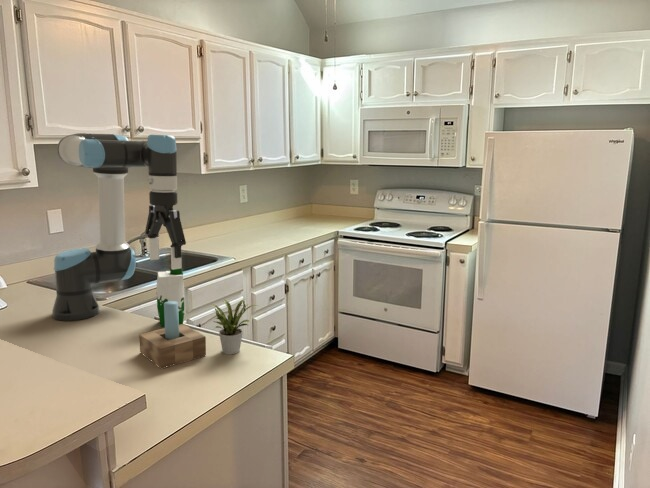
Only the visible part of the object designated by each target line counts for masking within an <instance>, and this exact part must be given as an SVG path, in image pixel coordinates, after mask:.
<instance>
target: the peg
mask: <svg viewBox="0 0 650 488" xmlns="http://www.w3.org/2000/svg"><path fill="white" fill-rule="evenodd" d="M164 319H165V327H164V328H165V339H166V340H172V339H175V338H179V312H178V302H177V301H168V302H165V303H164Z"/></svg>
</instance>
